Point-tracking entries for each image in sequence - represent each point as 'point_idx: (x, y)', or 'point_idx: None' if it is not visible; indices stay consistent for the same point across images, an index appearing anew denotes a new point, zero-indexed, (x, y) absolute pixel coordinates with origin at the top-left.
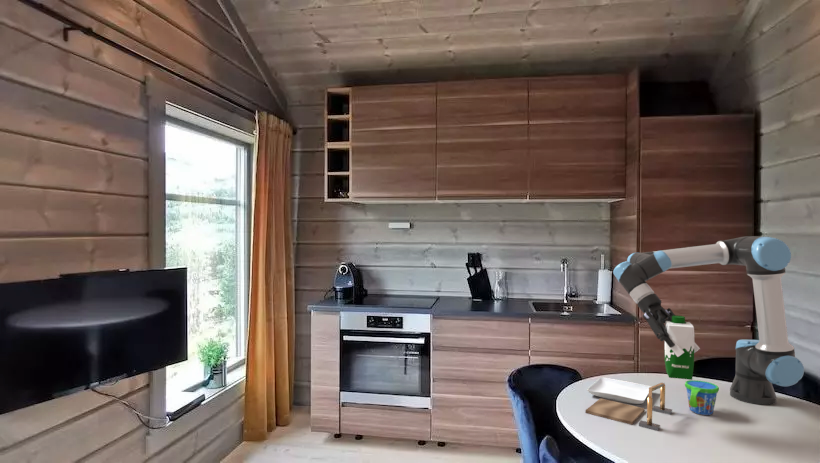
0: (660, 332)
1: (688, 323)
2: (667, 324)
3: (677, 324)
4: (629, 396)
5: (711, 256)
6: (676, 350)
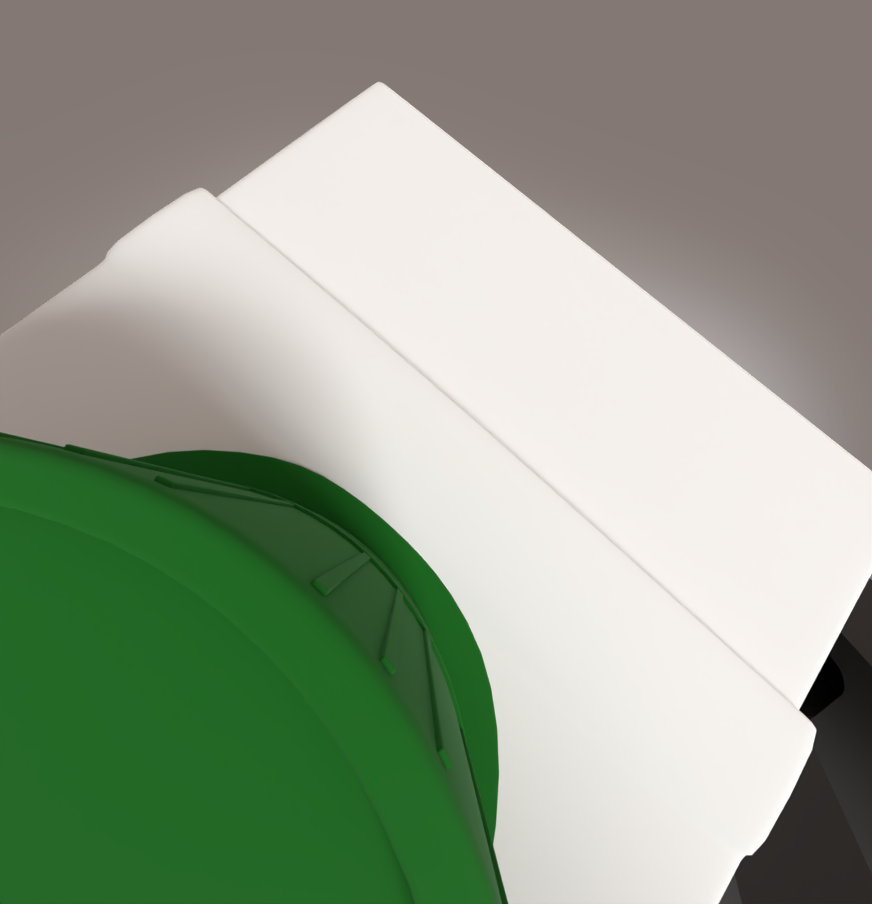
0: (866, 590)
1: (5, 428)
2: (787, 719)
3: (525, 503)
4: None
5: None
6: None
